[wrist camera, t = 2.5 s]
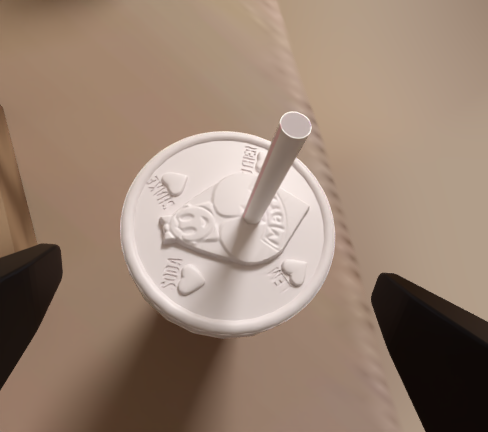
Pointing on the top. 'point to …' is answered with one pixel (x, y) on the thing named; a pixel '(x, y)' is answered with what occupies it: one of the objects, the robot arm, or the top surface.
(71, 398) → the top surface
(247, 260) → the smoothie
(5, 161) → the walnut plinth
